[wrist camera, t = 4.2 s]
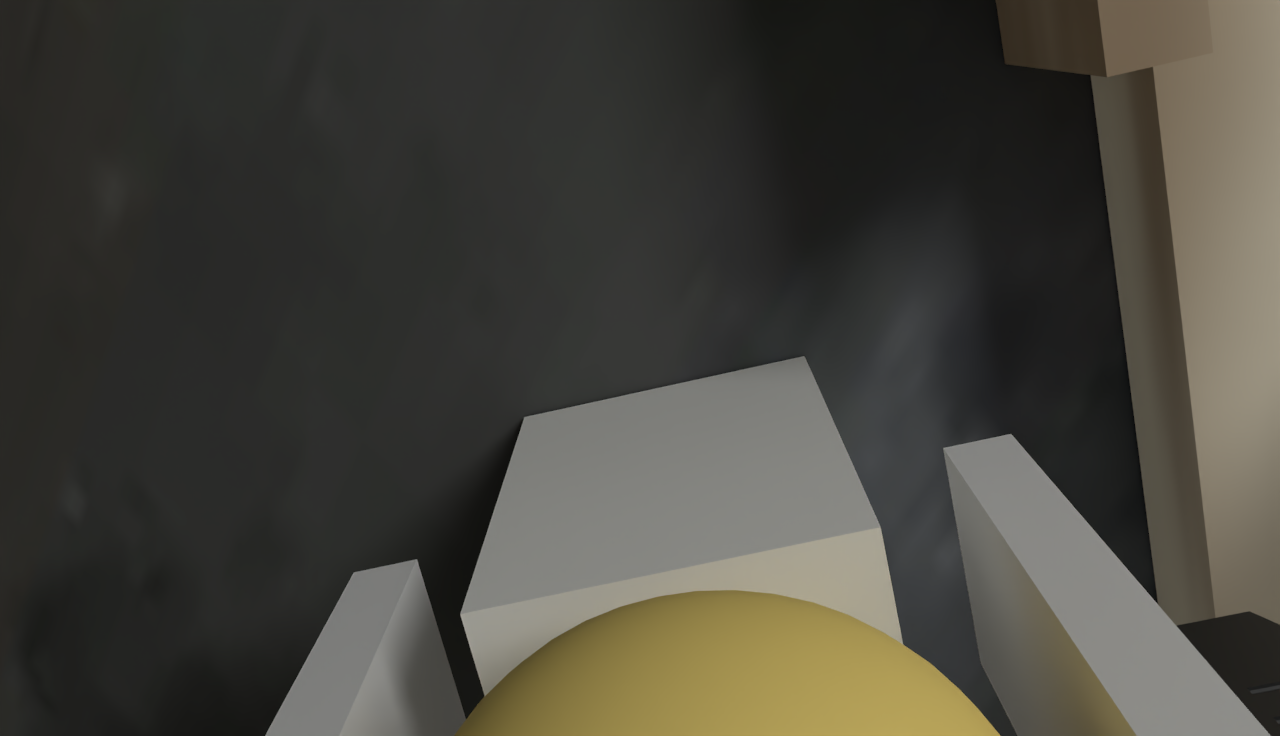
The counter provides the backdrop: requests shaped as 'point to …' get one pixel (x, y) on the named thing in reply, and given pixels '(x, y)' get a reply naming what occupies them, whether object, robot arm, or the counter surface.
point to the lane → (1189, 269)
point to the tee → (675, 511)
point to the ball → (725, 676)
